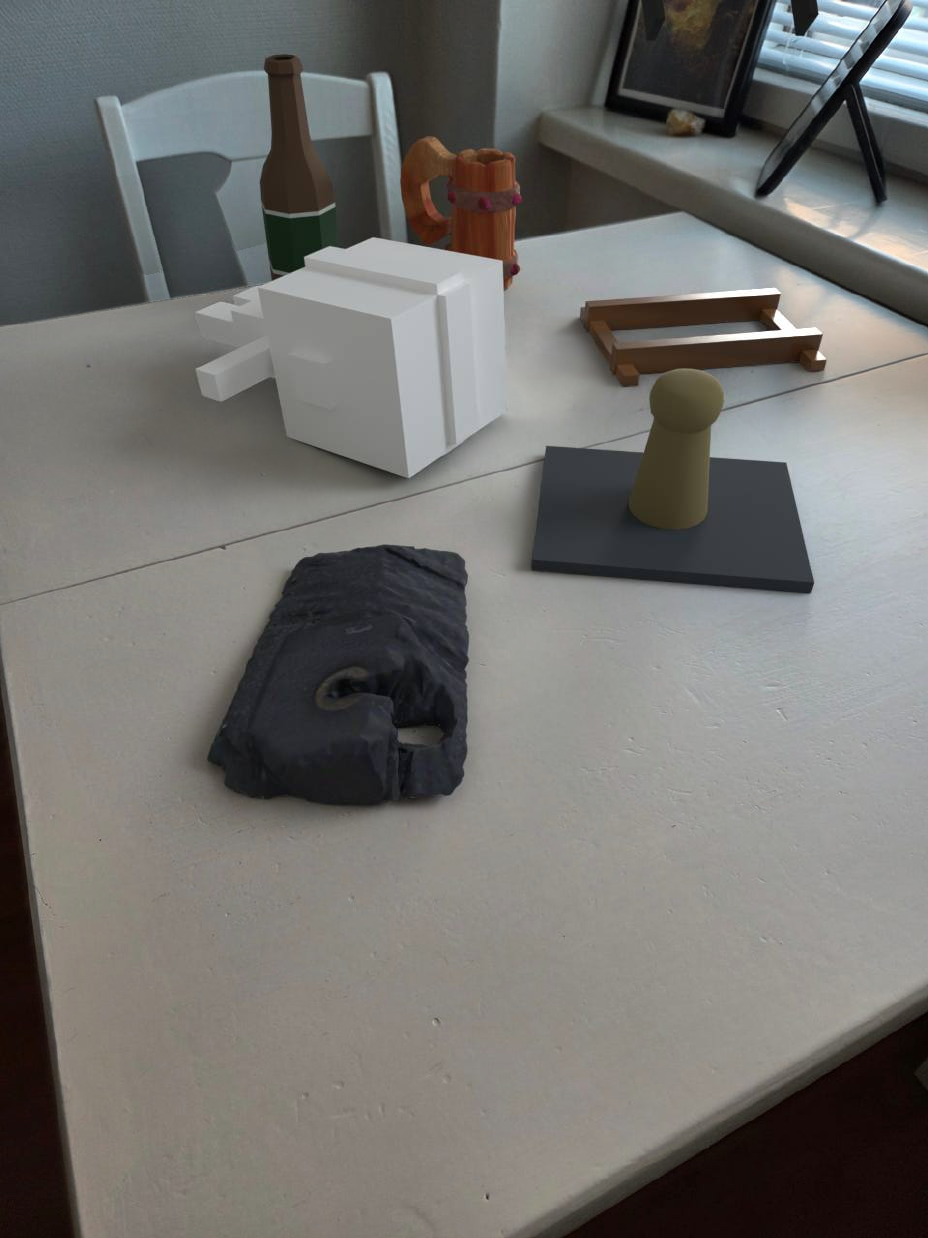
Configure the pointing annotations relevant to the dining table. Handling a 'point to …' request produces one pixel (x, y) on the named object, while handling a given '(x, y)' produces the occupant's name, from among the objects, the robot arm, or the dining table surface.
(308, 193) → the beer bottle
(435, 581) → the folded black garment
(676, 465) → the olive pawn
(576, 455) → the mat
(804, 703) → the dining table surface
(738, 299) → the rack
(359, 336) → the white voxel figure
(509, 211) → the mug
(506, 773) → the dining table surface
